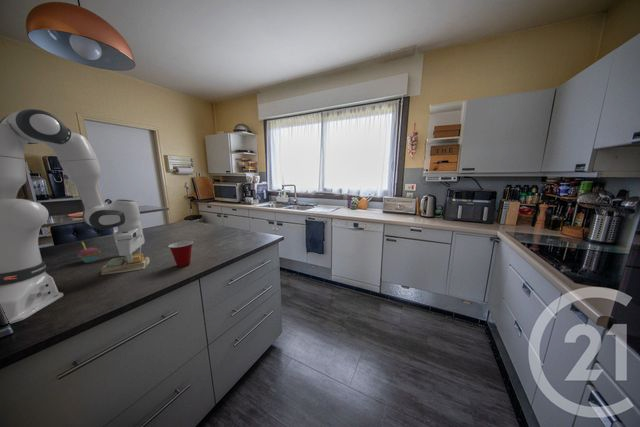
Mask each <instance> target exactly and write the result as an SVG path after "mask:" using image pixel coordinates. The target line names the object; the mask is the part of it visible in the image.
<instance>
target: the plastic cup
mask: <svg viewBox="0 0 640 427" xmlns="http://www.w3.org/2000/svg"><path fill="white" fill-rule="evenodd" d="M193 243H194V241H192V240H184V241H179V242H175V243H174V242H173V243H171V244H169V245H168V248H169V249H170V251H171V253H172V256H173V257H172V258H173V260H174V262H175V264H176V266H177V267H178V268H185V267H188V266H190V264H191V257H192V247H193Z"/></svg>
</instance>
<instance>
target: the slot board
mask: <svg viewBox="0 0 640 427" xmlns="http://www.w3.org/2000/svg"><path fill="white" fill-rule="evenodd" d="M143 257H144V256H143ZM150 263H151V260H150V257H149V256H145V257H144V261H143V262H141V263H134V264H128V263H127V259H126V256H121V257H116V258H111V259H110V260H109V261H107V263H106V264H105V265H103V267H101V269H100V270H101V272H100V273H101V276H104V275H111V274H112V275H113V274H118V273H124V272H125V273H126V272H131V271H132V272H133V271H139V270H144V269H145V268H146V267H147V266H148V265H149V264H150Z"/></svg>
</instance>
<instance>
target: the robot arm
mask: <svg viewBox="0 0 640 427" xmlns="http://www.w3.org/2000/svg"><path fill="white" fill-rule="evenodd" d="M36 144H43V145H44V144H45V145H46V146H48V147H49V148H51V150H52V151H53V152H54V153H55V155H56V157H57V160H58V162H59V165H60V167H61V168H62V170H63V172H64V173H65V175H66V176H67V178H68V179H69V180H70V182H72V184H73V186H74V187H75V188H76V190H77V192H78V195H79V197H80V200H81V202H82V205H83V212H82V220H83V222H84V223H85V224H86V225H88V226H90V227H92V228H95V229H97V230H109V229H114V228H117V230H118V231H117V234H116V235H115V239H114V241H115V240H117V245H116V247H118V248H117V251H118V255H119V254H120V255H121V256H120V255H119V256H120V257H125V258H126V260H127V259H128V262H132V261H133V260H134V258H133V257H132V254H133V253H134V252H135V254H140V253H142V246H143V245H144V244H145V241H146V240H145V236H144V235H145V234H144V233H143V232H144V231H143V225H142V222H141V211H140V209H139V204H138V203H137V201H135V200H132V199H115V200H114V201H113V202H111V203H110V204H108V205H104V202H103V200H102V197H101V194H100V192H99V190H98V189H99V188H98V184H99V183H98V182H99V179H100V178H101V176H102V171H101V165H100V162H99V159H98V157H97V154H96V153H95V150H94V149H93V147H92V145H91V144H90V142H89V140H88V139H87V138H86V137H85V136H84V135H82V134H80V133H77V132H72V131H71V129H70V128H69V127H67V126H66V125H65V124H64V123H63V121H61V119H60V118H58V117H57V116H55V115H54V114H52V113H51V112H48V111H45V110H43V109H42V110H41V109H35V108H27V109H24V110H17V111H14V112H12V113H9V114H8V115H6V116H5V117H3V118H2V119H1V120H0V303H1V305H2V308H3V310H4V312H5V315H6V317H7V319H8V321H9V323H10V324H9V325H11V324H14V323H17V322H20V321H23V320H25V319H27V318H29V317H31V316H32V315H34V314H35V313H37V312H38V311H40V310H42V309H44V308H45V307H47V306H48V305H51V304H52V303H54V302H56V301H57V300H59V299H61V298H62V297H64V292H62V291H61V292H59V290H58V287H57V285H56V283H55V282H56V281H55V280H54V277H52V276H51V275H49V274H48V273H47V272H46V271H47V265H46V264H45V261H44V260H43V259H42V255H41V250H40V247H39V235H40V231H41V227H42V226H43V225H44V224H45V223H47V221H48V220H49V215H50V214H49V211H48V209H47V208H46V207H45V206H44V205H42V204H41V203H39V202H36V201H32V200H29V199H28V200H27V199H24V198H17V196H18V193H19V192H20V189H21V188H22V187H23V185H25V184H26V183H27V169H26V159H25V158H26V157H25V152H24V151H25V147H26V145H36Z"/></svg>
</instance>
